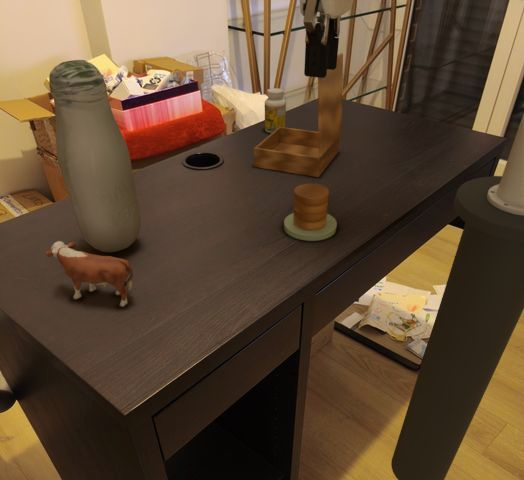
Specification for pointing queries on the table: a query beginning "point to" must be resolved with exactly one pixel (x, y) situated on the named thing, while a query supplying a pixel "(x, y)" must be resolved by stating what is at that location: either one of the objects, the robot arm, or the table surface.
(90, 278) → the bull figurine
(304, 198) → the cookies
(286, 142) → the wooden box
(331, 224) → the plate
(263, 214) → the table surface
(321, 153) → the lid
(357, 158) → the table surface
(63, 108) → the grey green bottle
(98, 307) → the table surface
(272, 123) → the supplement bottle
